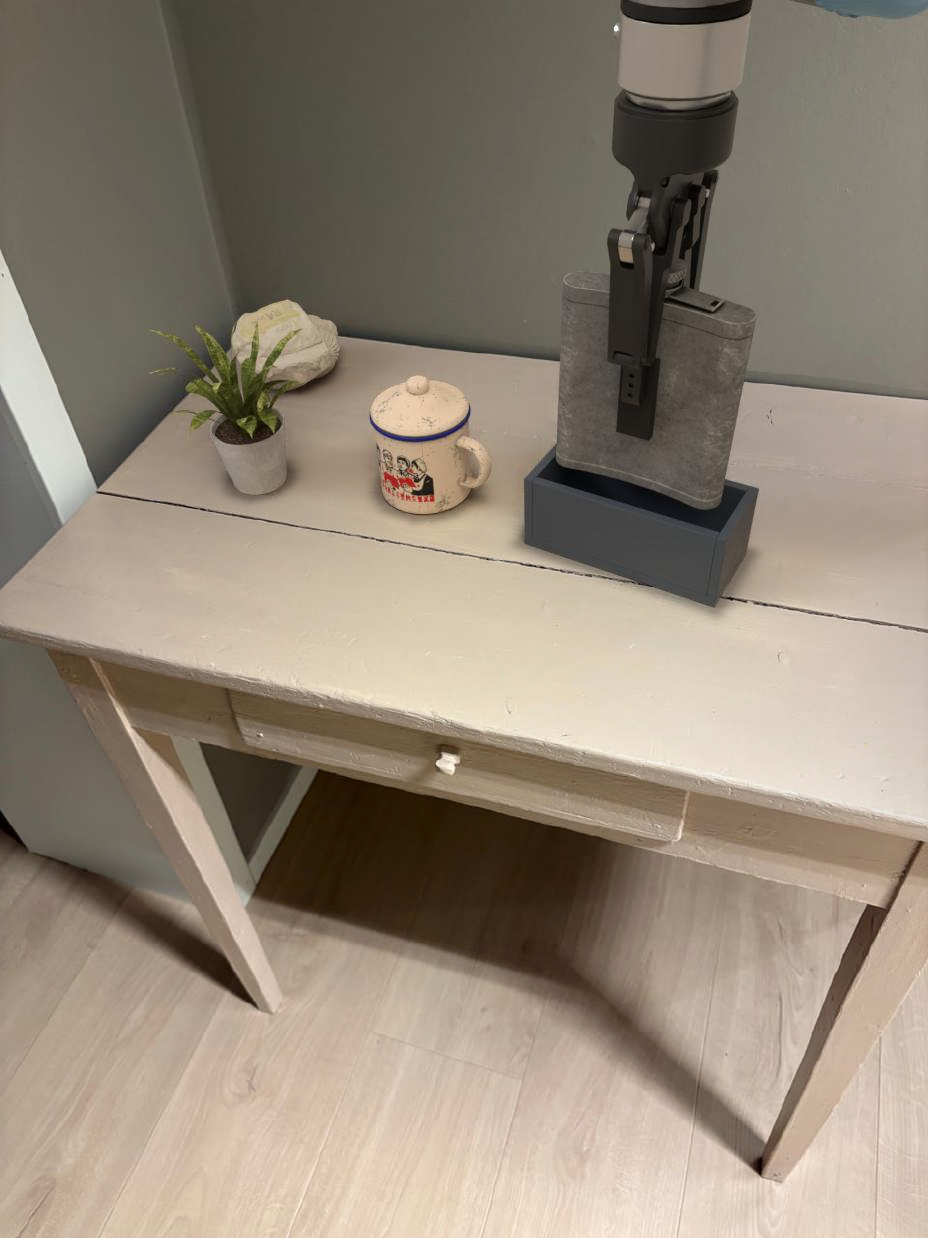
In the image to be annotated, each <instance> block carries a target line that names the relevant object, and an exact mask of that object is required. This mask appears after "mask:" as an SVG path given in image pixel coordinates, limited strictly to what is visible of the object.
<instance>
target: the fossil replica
mask: <svg viewBox="0 0 928 1238" xmlns="http://www.w3.org/2000/svg"><path fill="white" fill-rule="evenodd" d="M236 321H237V322H236V325H235V329H234V331H233V336H232V350H233V352H234V355H236V354H237V353H238V352H239V351H240V349H241V348H242V347H243V349H242V350H241V351H240V352H239V353H238V354H237V356H236V359H237V360H238V363H239V364H240V365H241V364H242V362H243V361H244V360H245V359H246V358H250V356H251V347H252V340H253V337H254V332H255V326H256V323H257V322H258V330H259V349H258V356H257V361H256V368H255V376H256V375H257V374H259V373H260V372H261V371H262V368H263V366H264V364H265V362H266V360H267V358H268V357H269V355H270V354H271V352H272V351H273V350H274V348H275V347H276V346H277V344H278V343H279V342H280V341H281V340H282V339H283V338H284V337H285V336H286V335H288V334H289V333H291V332H293V331H296V330H298V329H302V328H304V329H302V330H300V331H299V332H298V333H297V334H296V335H295V336H293V337H292V338H291V339H290V340H289V341H288V342H287V343H286V345H285V347H284V349H283V351H282V353H281V354H280V356H279V357H278V358H277V360H276V361H275V362H274V364H273V365H274V366H276V367H275V368H270V370H269V372H268V374H267V376H266V379H265V381H264V383H263V384H265V383H267V382H270V381H274V380H282V379H288V380H293V381H299V383H302V384H296V385H294V386H292V387H291V388H289V389H288V390H287V391H293V390H295V389H296V388H301V387H302V386H305V385H306V384H307V383H309V382H311V381H313V380H317V379H318V378H323V377H324V376H325V375H328V374H329V372H331V371H332V370H333V369H334V368H335V366H336V362H337V361H338V360H339V355H340V353H341V352H340V349H341V346H340V345H339V340H338V339H339V337H338V336H339V332H338V327H337V326H336V324H335V323H334V322H333V321H331V320H330V319H323V318H322V319H321V318H320V317H319V316H318V315H313V314H307V313H306V312H305V311H304V310H303V308H302V306H301V305H300V304H299V303H297V302H296V301H292V300H290V299H284V300H280V301H277V302H274V303H270V304H269V305H266V306H263V307H261V308H259V309H258V310H257V311H253V312H245V313H243V314H242V315H241V316H240V317H239V318H238V319H237V320H236ZM288 382H292V381H287V382H282V383H278V384H276V385H274V386H273V387H272V388H271V389H274V390H279V389H280V388H281V387H282V386H283V385H284V384H286V383H288Z"/></svg>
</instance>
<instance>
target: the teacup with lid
mask: <svg viewBox="0 0 928 1238" xmlns="http://www.w3.org/2000/svg"><path fill="white" fill-rule="evenodd" d="M471 413H472V408H471V404H470V402H469V400H468V397H467V396H466V395H465V394H464V392H463V391H462V390H460V389H459V388H458V387H456V386H455V385H452V384H449V383H447V382H445V381H444V382H443V381H439V380H433V379H428V378H427V377H425V376H423V375H413V376H410V377H409V378H408V379H407V380H406V381H404V382H401V383H398V384H394V385H392V386H390V387H389V388H387V389H385V390H383V391H382V392H381V393H380V394H379V395H377V396H376V397H375V399H374V400H373V402H372V404H371V406H370V410H369V422H370V424H371V426H372V427H373V433H374V434H373V435H374V441H375V442H374V443H375V448H376V456H377V463H378V472H379V479H380V485H381V492H382V495H383V497H384V499H385V500H386V501H387V502H388V504H389V505H391V506H392V507H394V508H396V509H398V510H400V511H401V512H405V513H408V514H409V513H410V514H414V515H415V514H416V515H431V514H437V513H441V512H442V513H443V512H445V511H448V510H451V509H453V508H455V507H456V506H458V505H460V504H461V503H462V502H464V500H465V499H466V498H467V497H468V495H470V493H471V490H472V489H473V488H478V487H481V485H483V484H484V483H485V482H486V481H487V480H488V479H489V477H490V475H491V472H492V459H491V457H490V454H489V452H488V450H487V449H486V447H484V445H482V443H481V442H479V441H478V440H476V439H473V438H472V437H470V421H469V419H470V417H471ZM471 454H472V455H473V456H474V457H475V459H476V460H477V462H478V465H479V473H478V476H472V460H471V459H472V458H471V457H472V456H471Z"/></svg>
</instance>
